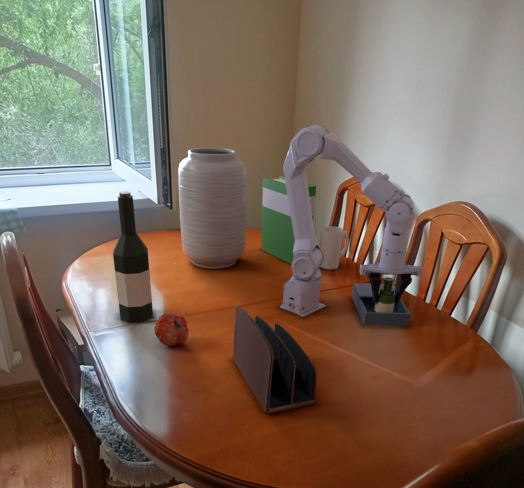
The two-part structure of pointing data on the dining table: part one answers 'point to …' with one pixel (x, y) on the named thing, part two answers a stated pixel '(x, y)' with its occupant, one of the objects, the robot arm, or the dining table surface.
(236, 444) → the dining table surface
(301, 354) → the letter holder
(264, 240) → the hardback book
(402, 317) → the tray
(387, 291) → the bottle
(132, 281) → the wine bottle
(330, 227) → the mug
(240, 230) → the vase
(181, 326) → the pomegranate
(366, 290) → the flap
